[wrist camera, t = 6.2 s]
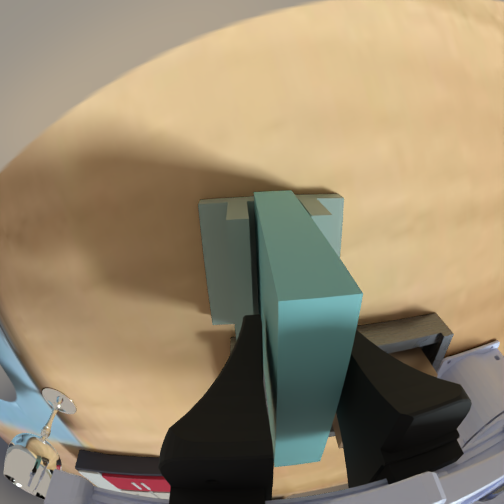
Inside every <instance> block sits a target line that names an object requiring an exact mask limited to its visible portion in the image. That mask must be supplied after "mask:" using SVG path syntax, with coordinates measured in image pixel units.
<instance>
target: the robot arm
mask: <svg viewBox="0 0 504 504" xmlns="http://www.w3.org/2000/svg"><path fill="white" fill-rule="evenodd" d="M499 343H500V342H499V341H498V340H497V341H494V342H491V343H488V344H486V345H483V346H480V347H477V348H474V349H471V350H468V351H465V352H462V353H459V354H456V355H453V356H449V357H446V358H444V359H443V360H442V362H441V364H440V367H439V369H438V371H437V374H438V376H437V377H434V376H431V375H429V374H426V373H424V372H421V371H419V370H417V369H415V368H413V367H411V366H409V365H407V364H405V363H403V362H401V361H399V360H398V359H396V358H394V357H393V356H391V355H389V354H388V353H386V352H385V351H383V350H382V349H380V348H379V347H378V346H376V345H375V344H374V343H372V342H371V341H370V340H368V339H367V338H366V337H365V336H364V335H362V334H361V333H360V332H359V331H358V330H357V329H356V333H355V338H354V343H353V347H352V352H351V356H350V360H349V365H348V369H347V373H346V377H345V381H344V385H343V388H342V392H341V396H340V399H339V403H338V406H337V410H336V414H337V419H338V423H339V428H340V433H341V438H342V444H343V449H344V455H345V462H346V469H347V477H348V486H349V488H348V489H344V490H339V491H335V492H329V493H324V494H319V495H312V496H306V497H298V498H290V499H281V500H272V487H273V467H274V452H273V444H272V436H271V431H270V424H269V418H268V412H267V405H266V398H265V390H264V383H263V336H262V320H261V315H260V314H258V315H245V316H244V317H243V321H242V326H241V330H240V333H239V336H238V339H237V341H236V343H235V346H234V348H233V350H232V352H231V354H230V356H229V358H228V360H227V362H226V364H225V366H224V368H223V369H222V371H221V373H220V374H219V376H218V377H217V379H216V380H215V381H214V383H213V384H212V385H211V387H210V388H209V389H208V391H207V392H206V393H205V394H204V396H203V397H202V398H201V399H200V400H199V401H198V402H197V403H196V404H195V405H194V406H193V407H192V409H191V410H190V411H189V412H188V413H186V414H185V415H184V416H183V417H182V418H181V419H180V420H178V421H177V422H176V423H175V424H174V425H173V426H171V427H170V428H169V430H168V432H167V434H166V436H165V439H164V441H163V444H162V448H161V451H160V457H159V464H158V469H159V471H160V473H161V474H162V476H163V477H164V478H165V479H166V481H167V482H168V483H169V485H170V486H171V487H170V497H169V499H160V498H152V497H145V496H139V495H133V494H127V493H122V492H117V491H112V490H108V489H103V488H99V487H95V486H93V485H92V483H91V482H89V481H88V480H87V479H85V478H83V477H81V476H78V475H75V474H72V473H68V472H65V471H62V470H59V469H54V471H53V474H52V477H51V480H50V484H49V487H48V490H47V494H46V497H45V501H44V504H504V490H503V491H501V492H499V493H497V494H492V493H494V492H495V491H497V490H498V489H499V488H501V487H502V486H504V356H503V355H502V354H501V352H500V351H499V350H498V349H497V348H498V346H499Z"/></svg>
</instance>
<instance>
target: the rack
mask: <svg viewBox="0 0 504 504" xmlns="http://www.w3.org/2000/svg"><path fill="white" fill-rule="evenodd" d="M356 329H357V330H358V331H359V332H360V333H361V334H362V335H364V336H365V337H366V338H367V339H368V340H370V341H371V342H372V343H374V344H375V345H376V346H378V347H379V348H380V349H382V350H383V351H385V352H386V353H393V352H398V351H403V350H407V349H412V348H416V347H420V348H421V350H422V351H423V353H424V354H425V356H426V357H427V359H428V360H429V362H430V363H431V365H432V366H433V368H434V369H435V371H436V373H437V371H438V369H439V367H440V364H441V362H442V360H443V358H444V356H445V353H446V351H447V349H448V346H449V344H450V342H451V339H452V337H453V333H452V332H451V330H450V329H449V328H448V327H447V325H446V324H445V323H444V322H443V321H442V319H441V318H440V317H439V316H438V315H437V314H436V313H433V314H428V315H423V316H417V317H412V318H406V319H400V320H394V321H388V322H381V323H375V324H368V325H361V326H357V328H356ZM235 343H236V337H231V349H230V354H231V352H232V350H233V348H234V346H235ZM263 383H264V390H265V398H266V405H267V412H268V403H267V394H266V385H265V376H264V367H263ZM268 418H269V412H268ZM269 424H270V422H269ZM332 436H335V432H334V429H333V425H332V427H331V430H330V433H329V436H328V437H332Z"/></svg>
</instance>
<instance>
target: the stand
mask: <svg viewBox="0 0 504 504" xmlns="http://www.w3.org/2000/svg"><path fill="white" fill-rule="evenodd" d="M295 196H296V197H297V199H298V200H299V201H300V203H301V204H302V205H303V207H304V208H305V210H306V211H307V212H308V214H309V215H310V216H311V218H312V219H313V221H314V222H315V223H316V225H317V226H318V228H319V229H320V230H321V232H322V233H323V235H324V236H325V238H326V239H327V240H328V242H329V243H330V245H331V246H332V248H333V249H334V251H335V252H336V254H337V255H338V257H339V258H340V249H341V237H342V222H343V206H344V198H343V197H342V196H341V195H339V194H301V195H295ZM198 208H199V218H200V228H201V237H202V246H203V255H204V263H205V271H206V279H207V287H208V295H209V302H210V309H211V316H212V323H213V325H220V324H235V332H236V341H237V339H238V336H239V333H240V330H241V326H242V321H243V317H244V316H245V315H258V314H259V309H258V283H257V258H256V234H255V210H254V196H251V197H233V198H217V199H202V200H200V201H199V203H198Z"/></svg>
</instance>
